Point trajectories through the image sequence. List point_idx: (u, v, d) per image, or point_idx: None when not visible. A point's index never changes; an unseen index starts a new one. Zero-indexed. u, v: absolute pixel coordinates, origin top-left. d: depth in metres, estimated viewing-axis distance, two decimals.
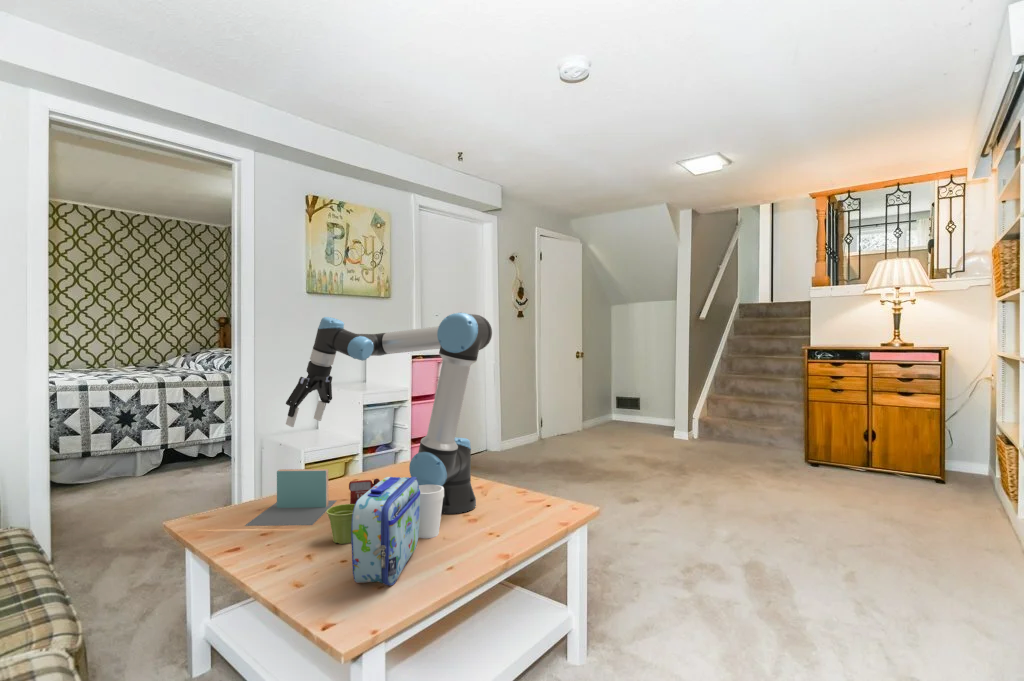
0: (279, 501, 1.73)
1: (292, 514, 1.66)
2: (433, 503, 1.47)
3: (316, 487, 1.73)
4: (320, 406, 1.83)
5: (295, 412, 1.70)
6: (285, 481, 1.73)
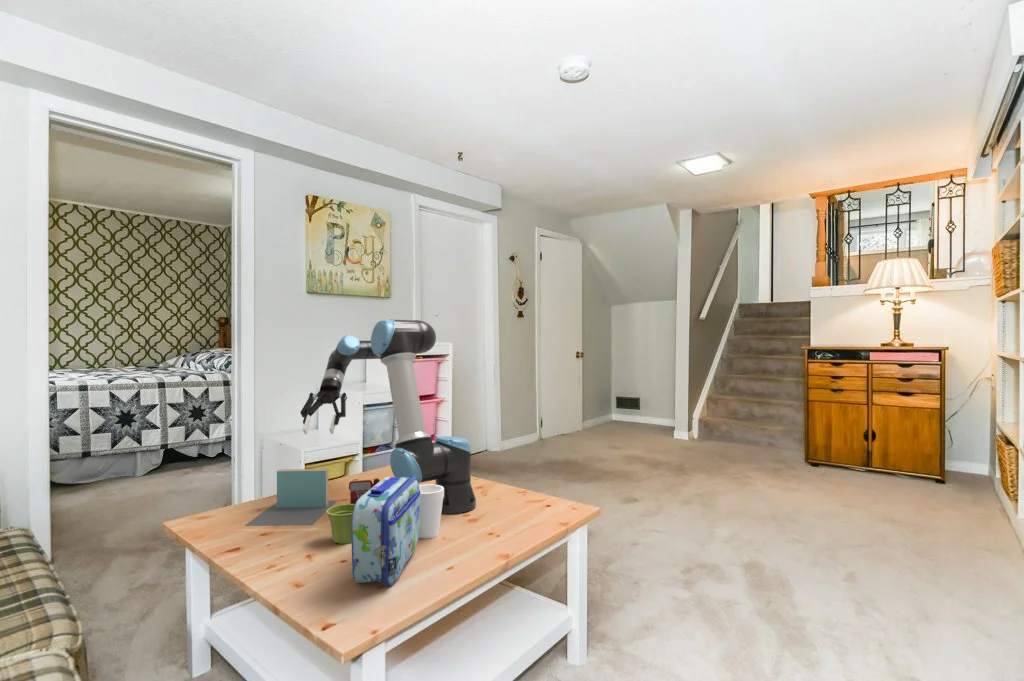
0: (279, 501, 1.73)
1: (292, 514, 1.66)
2: (433, 503, 1.47)
3: (316, 487, 1.73)
4: None
5: None
6: (285, 481, 1.73)
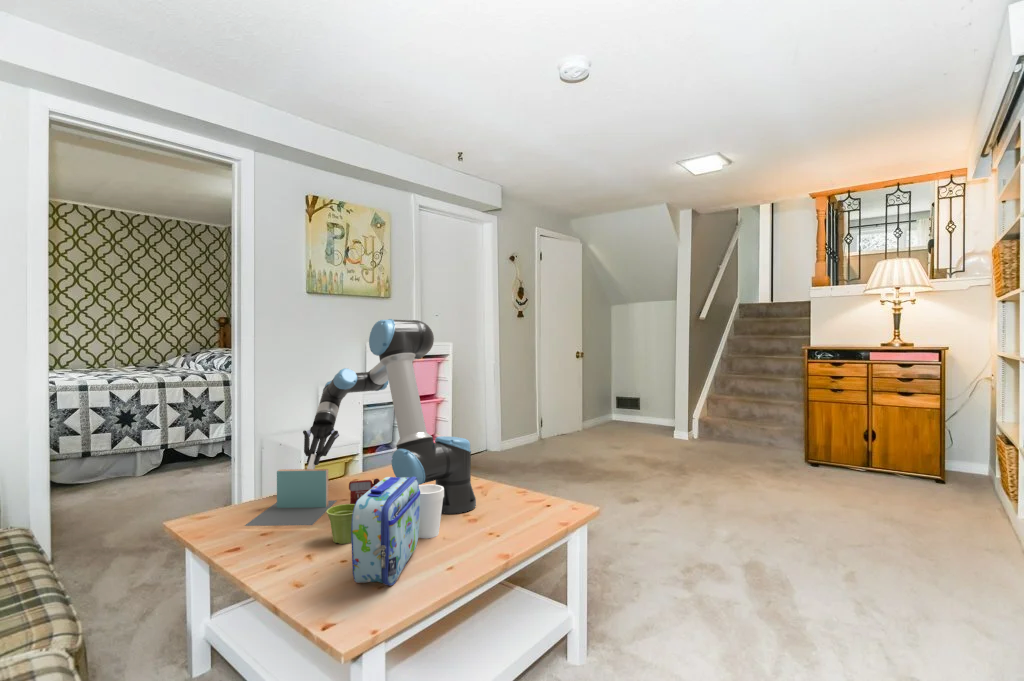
0: (279, 501, 1.73)
1: (292, 514, 1.66)
2: (433, 503, 1.47)
3: (316, 487, 1.73)
4: None
5: None
6: (285, 481, 1.73)
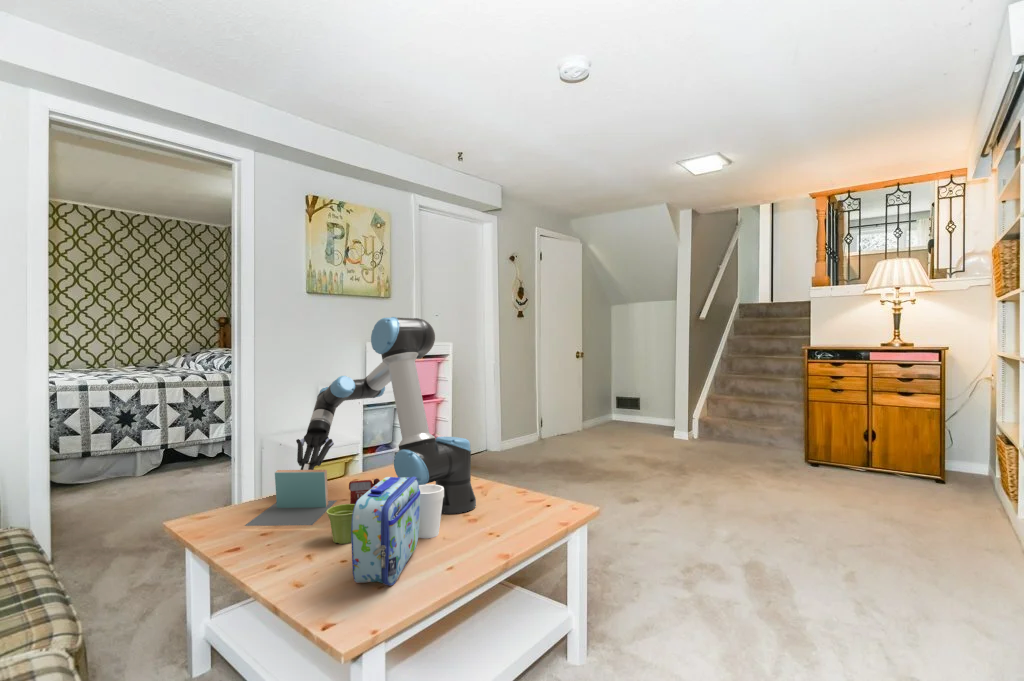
0: (279, 501, 1.72)
1: (292, 514, 1.66)
2: (433, 503, 1.47)
3: (315, 488, 1.72)
4: None
5: (303, 468, 1.78)
6: (284, 483, 1.71)
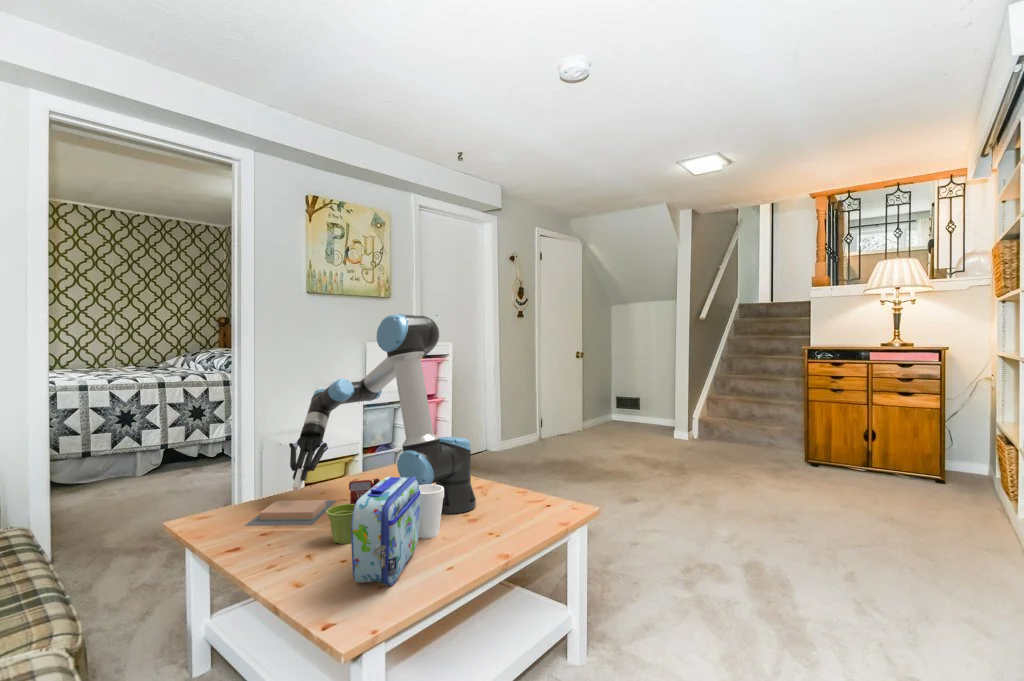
0: None
1: None
2: (433, 503, 1.47)
3: None
4: None
5: (297, 473, 1.71)
6: None
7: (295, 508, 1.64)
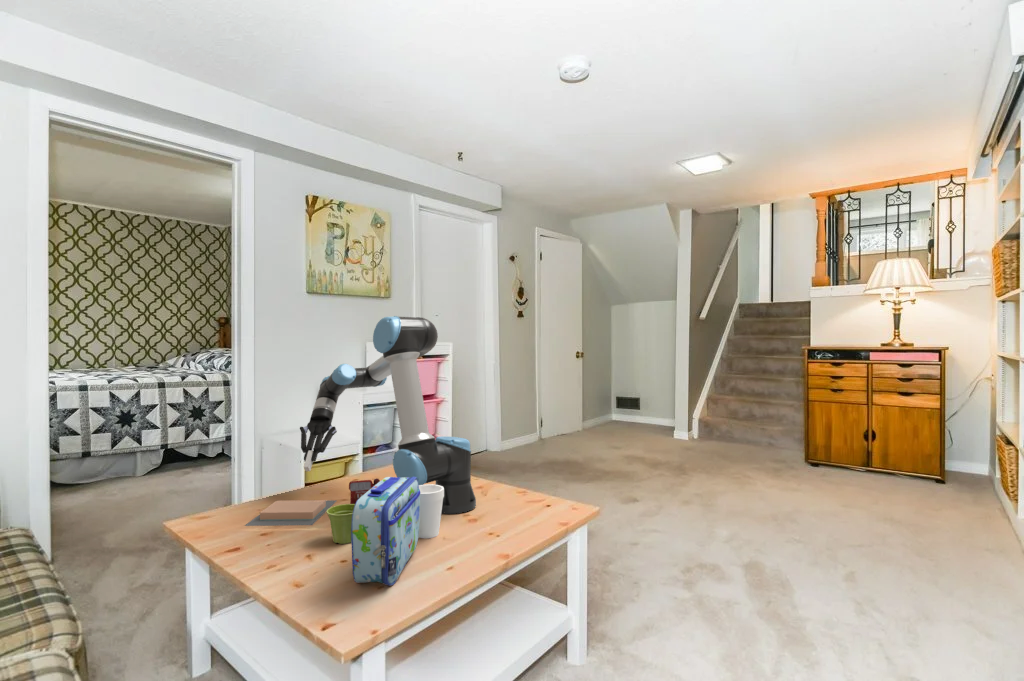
0: None
1: None
2: (433, 503, 1.47)
3: None
4: None
5: None
6: None
7: (295, 508, 1.64)
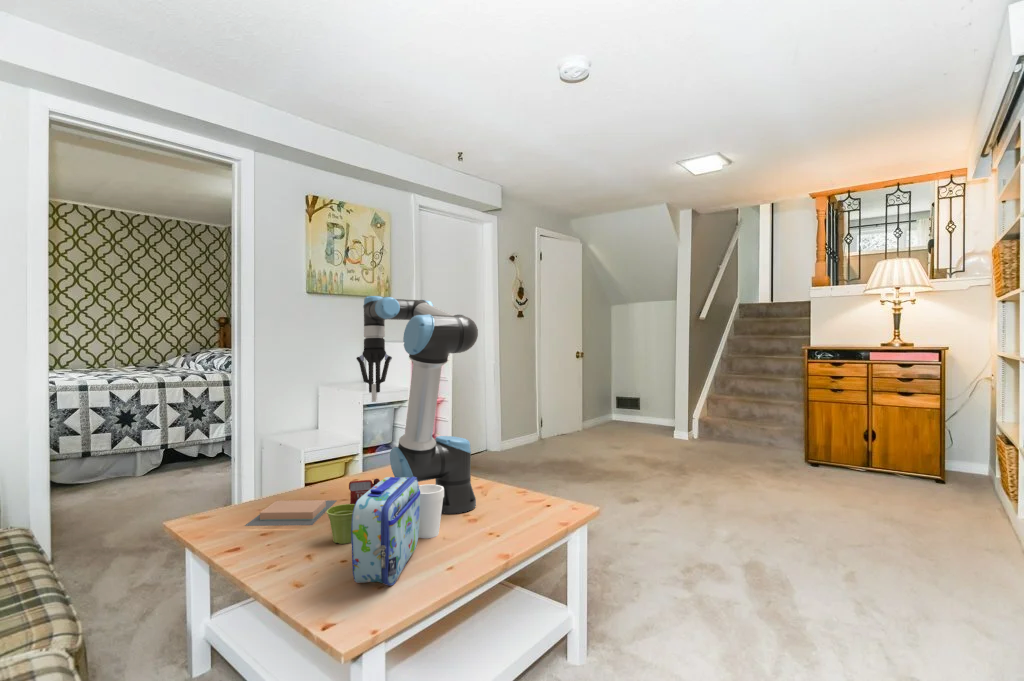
0: None
1: None
2: (433, 503, 1.47)
3: None
4: None
5: (371, 388, 1.93)
6: None
7: (295, 508, 1.64)
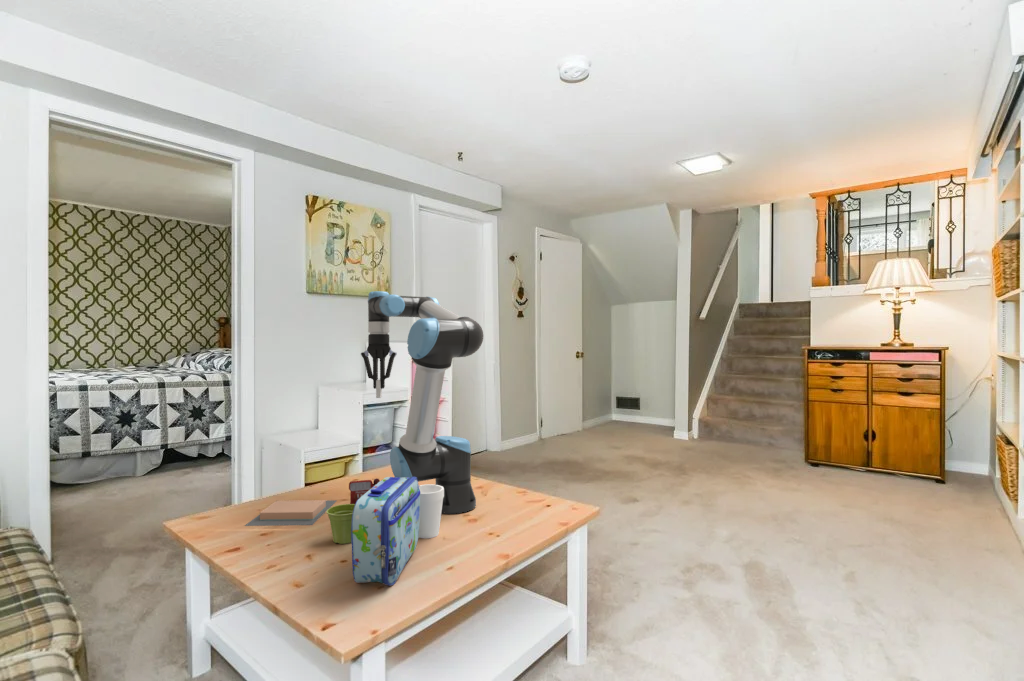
0: None
1: None
2: (433, 503, 1.47)
3: None
4: None
5: (376, 384, 1.93)
6: None
7: (295, 508, 1.64)
